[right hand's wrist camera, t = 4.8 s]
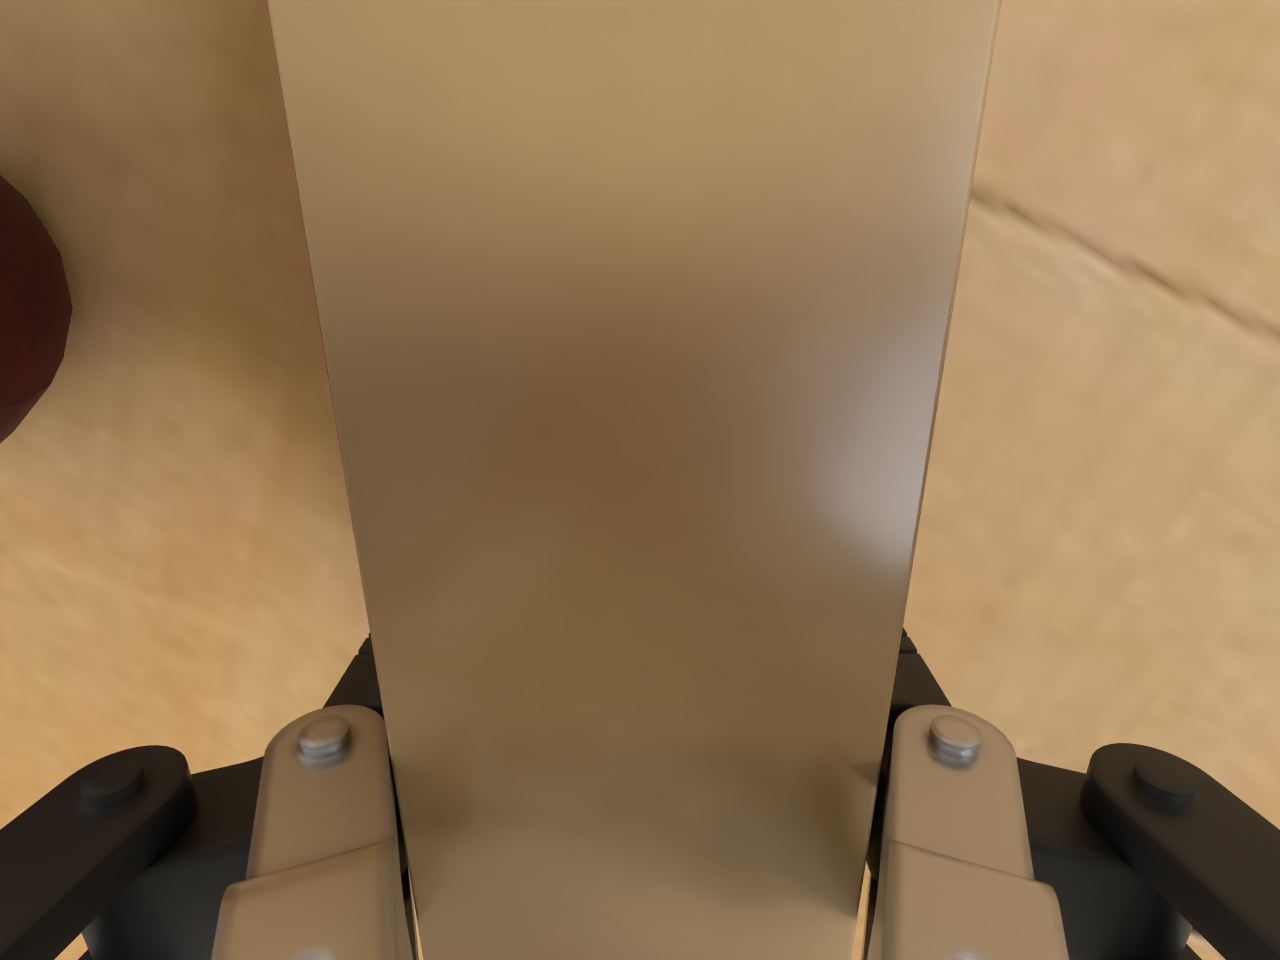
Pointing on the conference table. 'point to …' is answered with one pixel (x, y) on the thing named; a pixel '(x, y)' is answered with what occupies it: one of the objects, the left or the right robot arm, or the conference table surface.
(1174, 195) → the conference table surface
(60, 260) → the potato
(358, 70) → the bar
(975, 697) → the conference table surface
